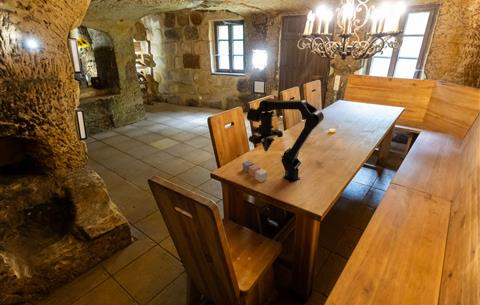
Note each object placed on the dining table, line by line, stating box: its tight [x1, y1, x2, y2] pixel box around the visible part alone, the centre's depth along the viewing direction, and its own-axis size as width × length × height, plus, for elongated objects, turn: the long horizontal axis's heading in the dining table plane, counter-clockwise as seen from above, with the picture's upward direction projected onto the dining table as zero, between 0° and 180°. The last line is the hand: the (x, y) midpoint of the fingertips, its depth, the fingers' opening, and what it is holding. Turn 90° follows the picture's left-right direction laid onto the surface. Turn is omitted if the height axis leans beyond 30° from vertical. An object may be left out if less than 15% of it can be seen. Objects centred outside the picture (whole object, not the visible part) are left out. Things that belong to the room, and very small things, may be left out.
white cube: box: [254, 168, 268, 183], centre depth 135 cm, size 4×4×4 cm
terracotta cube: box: [248, 163, 261, 178], centre depth 140 cm, size 4×4×4 cm
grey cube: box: [242, 160, 255, 174], centre depth 144 cm, size 4×4×4 cm
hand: (265, 151), depth 139 cm, fingers closed
